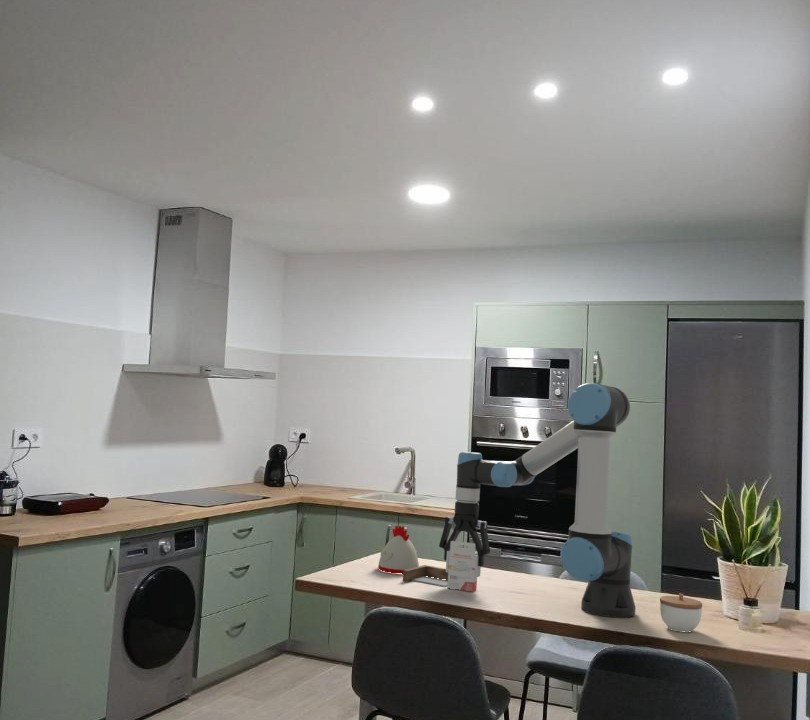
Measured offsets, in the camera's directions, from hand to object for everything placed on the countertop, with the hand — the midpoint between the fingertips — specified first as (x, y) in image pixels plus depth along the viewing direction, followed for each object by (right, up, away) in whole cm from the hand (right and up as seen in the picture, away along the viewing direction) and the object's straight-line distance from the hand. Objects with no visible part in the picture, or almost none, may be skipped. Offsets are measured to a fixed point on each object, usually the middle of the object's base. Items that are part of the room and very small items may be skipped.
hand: (462, 574), depth 237 cm
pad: (-8, -5, +8) cm, 12 cm away
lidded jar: (+56, -6, -33) cm, 65 cm away
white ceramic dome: (-20, -6, +23) cm, 31 cm away
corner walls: (-8, -5, +6) cm, 11 cm away
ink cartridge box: (0, -5, 0) cm, 5 cm away
